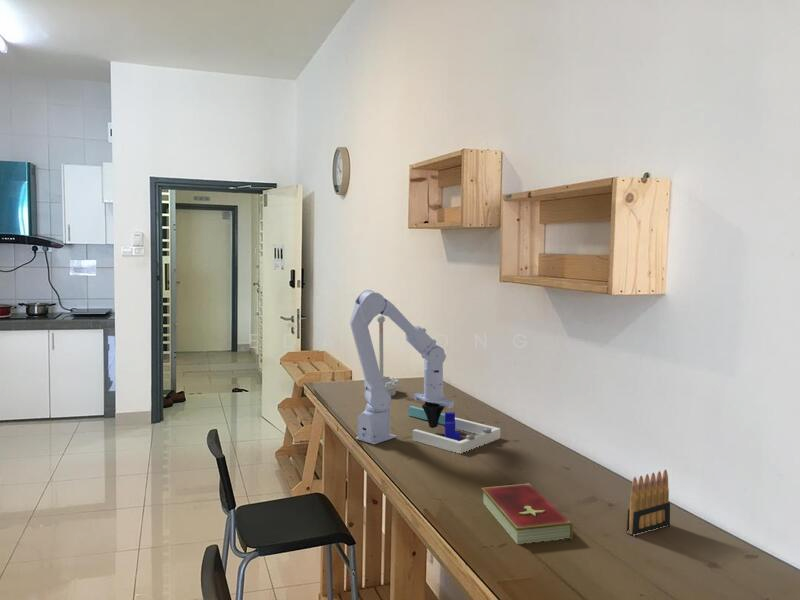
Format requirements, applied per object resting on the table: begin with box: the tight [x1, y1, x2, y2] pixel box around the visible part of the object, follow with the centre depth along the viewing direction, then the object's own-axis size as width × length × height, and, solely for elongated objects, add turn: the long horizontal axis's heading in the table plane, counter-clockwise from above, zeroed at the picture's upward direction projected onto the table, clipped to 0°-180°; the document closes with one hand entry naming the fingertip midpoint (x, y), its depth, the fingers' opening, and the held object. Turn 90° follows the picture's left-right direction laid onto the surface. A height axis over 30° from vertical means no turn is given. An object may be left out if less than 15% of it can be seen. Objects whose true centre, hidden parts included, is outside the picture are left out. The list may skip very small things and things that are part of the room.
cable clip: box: [444, 411, 461, 441], centre depth 197 cm, size 12×4×6 cm, turn 176°
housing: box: [412, 416, 501, 455], centre depth 194 cm, size 19×18×4 cm
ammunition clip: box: [626, 469, 671, 534], centre depth 135 cm, size 11×2×12 cm, turn 118°
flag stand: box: [363, 314, 399, 397], centre depth 248 cm, size 13×13×30 cm
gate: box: [407, 405, 445, 426], centre depth 213 cm, size 17×1×3 cm, turn 46°
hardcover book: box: [480, 483, 574, 545], centre depth 140 cm, size 12×21×4 cm, turn 12°
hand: (433, 427), depth 200 cm, fingers closed
